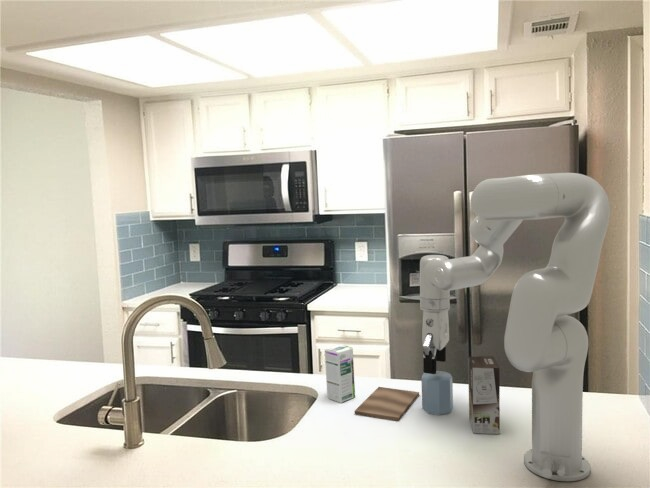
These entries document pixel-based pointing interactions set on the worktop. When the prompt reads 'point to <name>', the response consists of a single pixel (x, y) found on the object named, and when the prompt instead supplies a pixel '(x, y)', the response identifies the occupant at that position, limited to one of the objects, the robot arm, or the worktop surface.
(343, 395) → the syrup box
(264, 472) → the worktop surface
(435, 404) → the cup
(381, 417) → the board
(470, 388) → the coffee box
